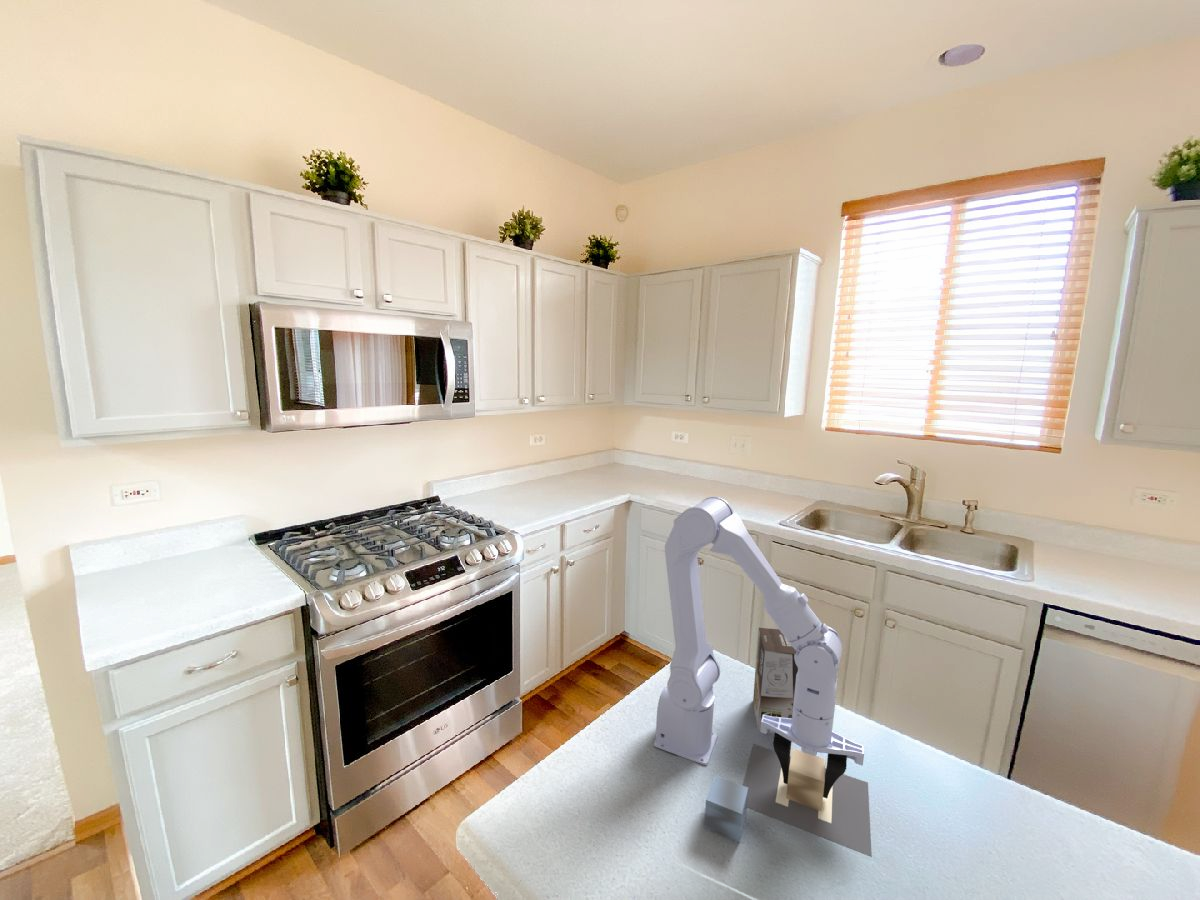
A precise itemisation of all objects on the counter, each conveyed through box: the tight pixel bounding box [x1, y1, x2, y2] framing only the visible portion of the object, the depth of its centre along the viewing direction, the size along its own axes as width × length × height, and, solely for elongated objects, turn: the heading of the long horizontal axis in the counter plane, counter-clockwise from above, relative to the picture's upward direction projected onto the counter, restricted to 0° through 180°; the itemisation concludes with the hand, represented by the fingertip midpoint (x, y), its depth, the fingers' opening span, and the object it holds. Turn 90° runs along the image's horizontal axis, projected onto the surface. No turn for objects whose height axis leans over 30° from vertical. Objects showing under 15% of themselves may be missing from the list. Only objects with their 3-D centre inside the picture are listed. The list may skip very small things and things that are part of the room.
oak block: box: [786, 747, 827, 811], centre depth 78 cm, size 5×5×5 cm
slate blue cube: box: [703, 774, 748, 844], centre depth 72 cm, size 5×5×5 cm
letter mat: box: [742, 743, 873, 858], centre depth 78 cm, size 18×14×1 cm
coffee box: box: [752, 627, 798, 734], centre depth 94 cm, size 9×6×16 cm
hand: (805, 785), depth 78 cm, fingers closed on oak block, 5 cm apart
